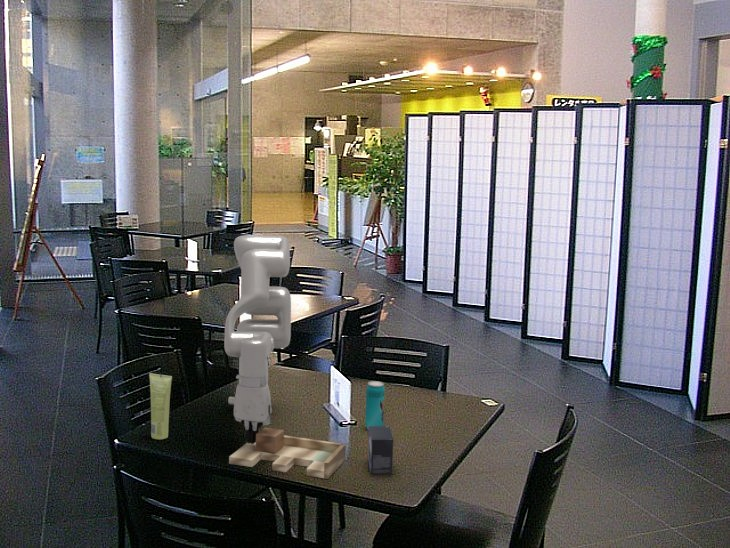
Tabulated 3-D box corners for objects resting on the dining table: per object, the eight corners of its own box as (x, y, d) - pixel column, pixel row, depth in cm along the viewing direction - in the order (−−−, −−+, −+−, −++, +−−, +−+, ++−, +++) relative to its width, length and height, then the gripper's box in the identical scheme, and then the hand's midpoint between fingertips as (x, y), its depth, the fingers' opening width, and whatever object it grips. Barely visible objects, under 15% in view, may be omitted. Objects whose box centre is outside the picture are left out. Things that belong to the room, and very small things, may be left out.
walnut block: (255, 450, 232) (256, 433, 231) (264, 443, 237) (264, 427, 237) (275, 453, 230) (275, 437, 229) (283, 446, 236) (283, 430, 235)
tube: (168, 433, 249) (168, 371, 246) (171, 438, 244) (172, 375, 241) (149, 435, 246) (149, 373, 243) (152, 441, 242) (152, 377, 239)
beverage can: (381, 432, 256) (383, 386, 254) (363, 430, 257) (365, 385, 255) (384, 426, 262) (386, 381, 260) (367, 424, 263) (368, 380, 261)
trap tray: (227, 463, 227) (227, 447, 226) (249, 444, 242) (249, 430, 241) (328, 479, 219) (328, 463, 218) (345, 459, 233) (345, 444, 233)
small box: (366, 460, 233) (367, 425, 232) (388, 460, 234) (390, 425, 232) (369, 475, 223) (371, 438, 221) (393, 475, 223) (394, 438, 222)
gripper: (223, 381, 231) (223, 442, 234) (272, 387, 227) (271, 450, 229) (235, 374, 238) (234, 434, 241) (282, 380, 234) (281, 441, 236)
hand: (252, 442), depth 235 cm, fingers closed
